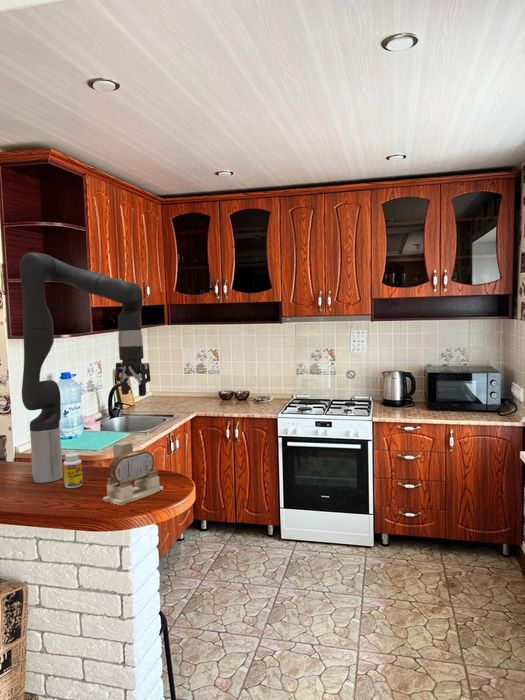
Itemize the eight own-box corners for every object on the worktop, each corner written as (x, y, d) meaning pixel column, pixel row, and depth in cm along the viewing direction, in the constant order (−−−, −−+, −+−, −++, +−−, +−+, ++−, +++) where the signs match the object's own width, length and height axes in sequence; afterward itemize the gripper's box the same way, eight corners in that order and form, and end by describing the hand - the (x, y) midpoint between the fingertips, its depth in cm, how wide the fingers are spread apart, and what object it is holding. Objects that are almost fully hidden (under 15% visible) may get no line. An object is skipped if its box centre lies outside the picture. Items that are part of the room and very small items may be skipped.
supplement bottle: (67, 490, 166) (64, 457, 165) (62, 485, 170) (60, 454, 170) (85, 486, 169) (83, 454, 168) (80, 482, 173) (78, 451, 173)
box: (123, 478, 176) (121, 445, 175) (114, 476, 178) (112, 444, 177) (134, 473, 180) (132, 441, 180) (125, 472, 182) (123, 440, 182)
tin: (150, 473, 164) (148, 446, 163) (156, 474, 162) (155, 447, 161) (108, 486, 152) (106, 457, 152) (115, 488, 150) (113, 459, 150)
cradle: (103, 500, 154) (101, 479, 153) (146, 485, 166) (145, 466, 166) (120, 505, 149) (119, 483, 148) (163, 489, 161) (162, 469, 161)
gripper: (107, 345, 170) (110, 395, 171) (135, 345, 162) (138, 398, 163) (126, 344, 176) (129, 392, 177) (154, 343, 168) (157, 394, 168)
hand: (133, 395), depth 170 cm, fingers open, 8 cm apart
